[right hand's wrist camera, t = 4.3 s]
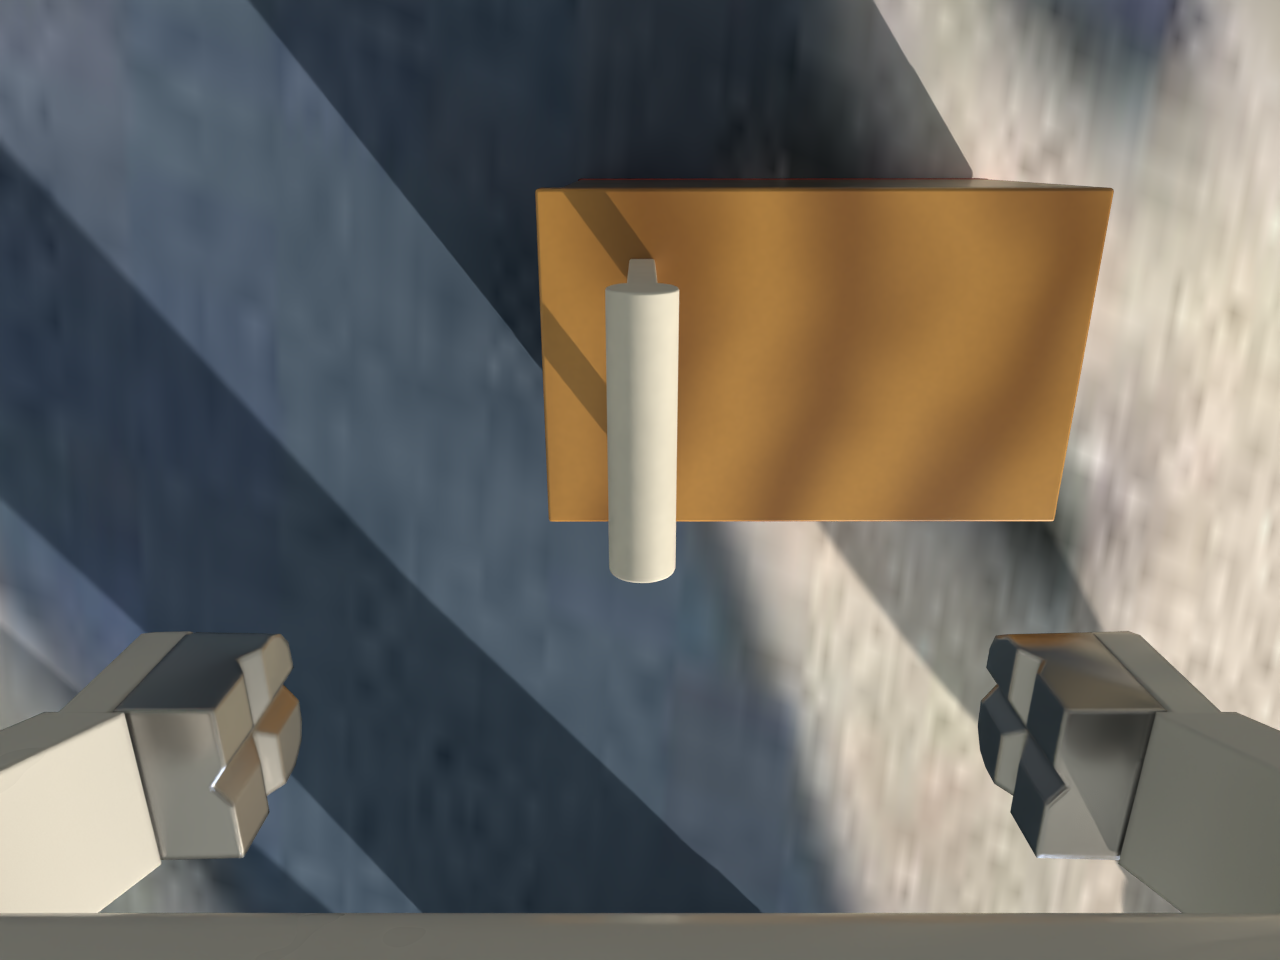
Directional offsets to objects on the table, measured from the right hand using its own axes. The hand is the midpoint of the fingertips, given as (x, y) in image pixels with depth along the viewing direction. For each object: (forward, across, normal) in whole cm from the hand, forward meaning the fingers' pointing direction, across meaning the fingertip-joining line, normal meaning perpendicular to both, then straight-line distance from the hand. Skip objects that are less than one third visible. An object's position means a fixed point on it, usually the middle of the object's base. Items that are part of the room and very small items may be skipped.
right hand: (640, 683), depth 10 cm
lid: (+17, +5, 0) cm, 18 cm away
